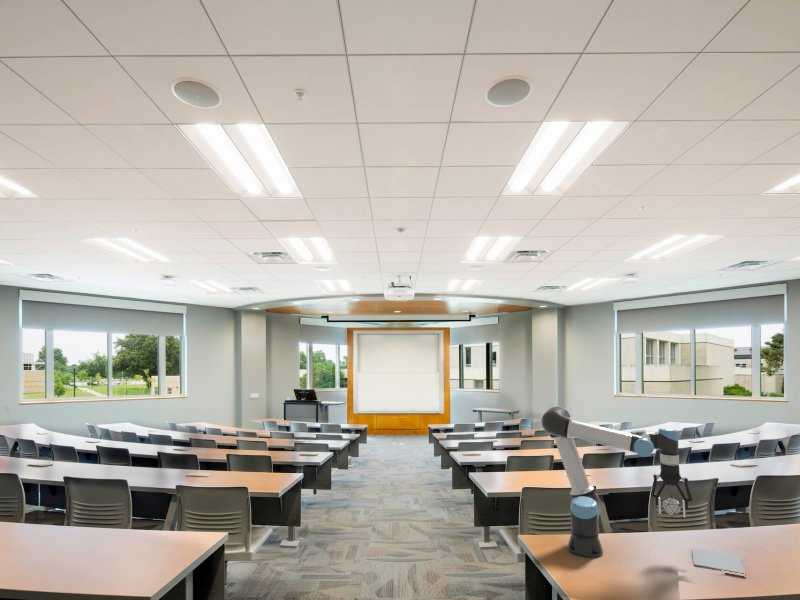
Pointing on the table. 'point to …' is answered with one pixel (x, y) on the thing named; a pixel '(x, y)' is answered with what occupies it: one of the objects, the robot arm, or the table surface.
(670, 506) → the game die
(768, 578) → the table surface
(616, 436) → the robot arm
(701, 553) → the board
